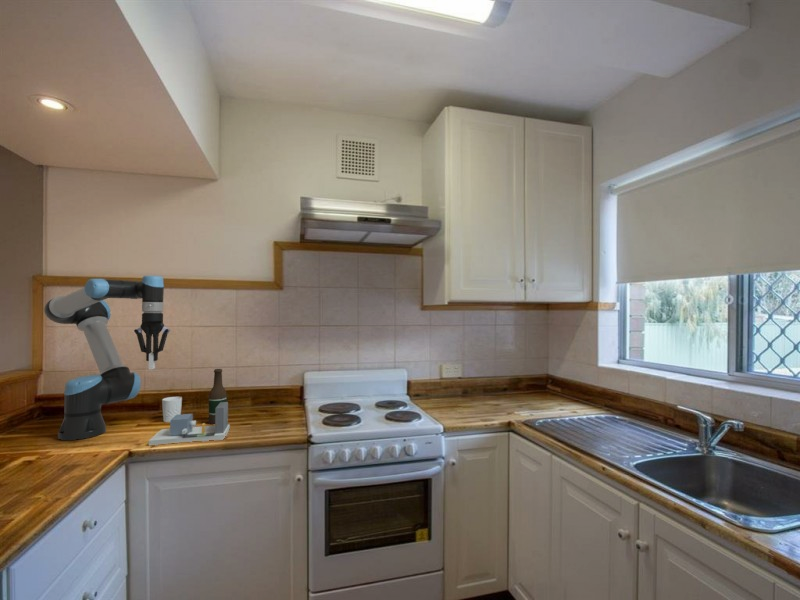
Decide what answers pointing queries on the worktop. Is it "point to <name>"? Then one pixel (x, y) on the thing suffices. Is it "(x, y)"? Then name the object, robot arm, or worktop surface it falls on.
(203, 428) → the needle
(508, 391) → the worktop surface
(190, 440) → the board
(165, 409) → the white cup
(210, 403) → the beer bottle
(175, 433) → the carriage
